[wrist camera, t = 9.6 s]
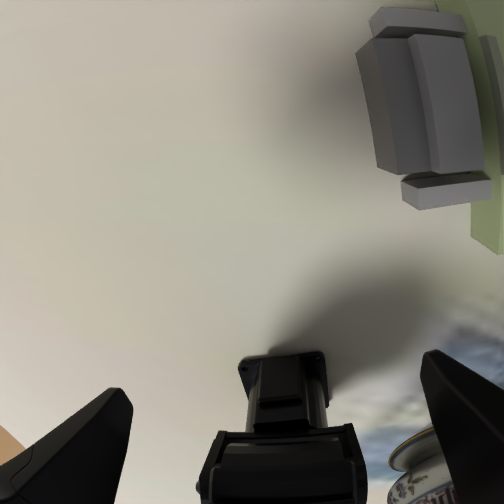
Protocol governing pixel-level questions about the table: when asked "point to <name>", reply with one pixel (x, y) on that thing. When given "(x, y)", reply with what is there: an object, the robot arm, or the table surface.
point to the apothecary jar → (421, 472)
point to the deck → (489, 104)
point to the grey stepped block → (421, 104)
